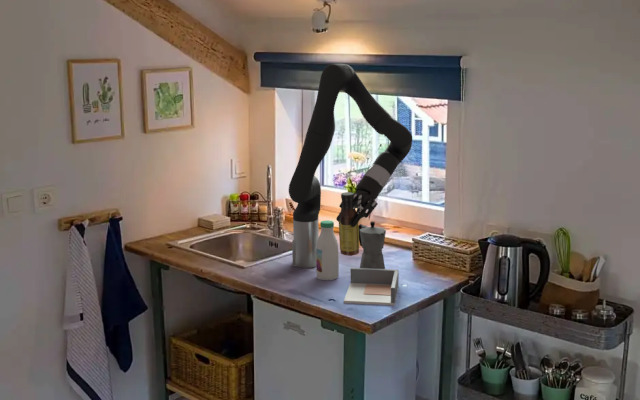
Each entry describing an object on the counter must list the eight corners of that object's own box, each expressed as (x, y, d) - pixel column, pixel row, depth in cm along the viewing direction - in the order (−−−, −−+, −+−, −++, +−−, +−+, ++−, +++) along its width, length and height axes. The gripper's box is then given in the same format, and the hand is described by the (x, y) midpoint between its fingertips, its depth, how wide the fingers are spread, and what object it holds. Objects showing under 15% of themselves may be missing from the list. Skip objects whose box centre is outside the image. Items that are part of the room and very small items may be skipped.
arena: (343, 303, 231) (343, 285, 230) (351, 283, 248) (351, 267, 247) (394, 305, 228) (394, 287, 227) (398, 286, 245) (398, 269, 244)
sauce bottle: (346, 249, 239) (345, 190, 234) (363, 252, 235) (362, 192, 231) (335, 254, 233) (333, 194, 229) (352, 257, 230) (350, 196, 225)
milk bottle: (340, 274, 258) (340, 219, 254) (336, 281, 251) (335, 225, 246) (319, 272, 260) (318, 218, 255) (314, 280, 253) (313, 224, 248)
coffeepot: (394, 272, 259) (394, 223, 255) (373, 278, 254) (373, 227, 250) (368, 262, 271) (368, 215, 267) (347, 266, 266) (347, 218, 262)
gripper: (353, 171, 239) (324, 212, 235) (381, 177, 227) (351, 221, 223) (366, 185, 243) (338, 225, 239) (394, 192, 231) (365, 234, 227)
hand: (344, 223), depth 231 cm, fingers closed on sauce bottle, 6 cm apart
